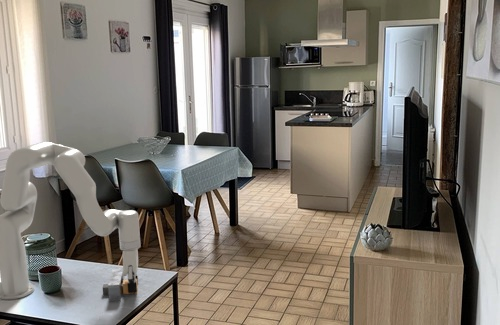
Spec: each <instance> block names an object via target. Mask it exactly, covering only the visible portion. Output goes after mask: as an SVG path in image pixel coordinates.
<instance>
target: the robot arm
mask: <svg viewBox="0 0 500 325" xmlns="http://www.w3.org/2000/svg"><path fill="white" fill-rule="evenodd" d="M5 164H6V165H5V172H4V177H3V180H2V187H1V193H0V205H1V207H2V209H4V210H5V212H4V213H2V214H0V300H8V301H9V300H16V299H21V298H23V297H27V296H29V295H30V294H32V293H34V291H35V286H34V284H32V283H30V280H29V270H28V261H27V253H26V246H25V242H24V239H23V237H22V233H23V232H24V231H25V230H28V229H29V227H30V226H31V225H32V223H33V220H34V216H35V210H36V205H37V201H38V191H37V190H38V189H37V188H36V186H35V184H34V183H33V182H31V181H30V179H31V173H30V172H31V171H30V170H34V169H38V168H41V167H44V166H47V165H50V166H53V167H54V169H55V171H56V172H57V174H58V175H59V176H60V178H61V179H62V180H63V182H64V183H65V184H66V186H67V187H68V189H69V190H70V192H71V193H72V194H73V196H74V197H75V201H76V204H77V207H78V210H79V212H80V215H81V216H82V219H83V220H84V222H85V224H87V226H88V227H89V228H90V230H91V231H92V232H94V234H96V235H97V236H100V237H107V236H109V235H111V234H112V232H114V231H115V230H117V229H118V238H119V239H118V240H119V241H118V242H119V249H120V250H121V251H122V268H123V275H124V277H126V276H127V279H128V293H129V294H137V293H138V290H137V284H138V285H139V278H138V270H139V251H138V250H139V249H140V248H141V235H140V234H141V233H140V218H139V217H140V216H139V213H138V211H136V210H133V209H131V210H130V209H128V210H127V209H126V210H119V209H112V208H111V209H105V210H104V211H103V209H102V208H101V206H100V205H99V202H98V200H97V186H96V185H97V184H96V181H94V180H93V178H92V177H91V175H90V174H89V173H88V171H87V169H85V165H86V157H85V155H84V153H83V152H81V151H80V150H78V149H76V148H74V147H69V146H65V145H63V144H57V143H54V142H49V141H41V142H37V143H35V144H31V145H27V146H23V147H20V148H18V149H15V150H14V151H12V152H11V153H10V154H9V155H8V157H7V159H6V163H5ZM136 279H137V283H136ZM136 292H137V293H136Z"/></svg>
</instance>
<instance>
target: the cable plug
mask: <svg viewBox="0 0 500 325" xmlns="http://www.w3.org/2000/svg"><path fill="white" fill-rule="evenodd" d="M136 283H137V279H136ZM108 284H109V283H105V284H103V285H102V295H103V296H109V293H108ZM138 286H139V283H138V284H137V292H136V293H135V294H137V293H138V290H139V287H138ZM121 290H122V295H126V294H128V295H129V294H130V293H128V278H127V279H124V281H123V283H121Z"/></svg>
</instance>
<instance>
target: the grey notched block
mask: <svg viewBox="0 0 500 325" xmlns="http://www.w3.org/2000/svg"><path fill="white" fill-rule="evenodd" d="M124 280H125V276H124V275H123V267H116V268H115V267H113V268H112V270H111V273H110V277H109V280H108V283H107V284H108V293H109V295H108V302H109V303H117V302H121V301H122V297H123V294H122V290H121V283H123V281H124Z"/></svg>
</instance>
